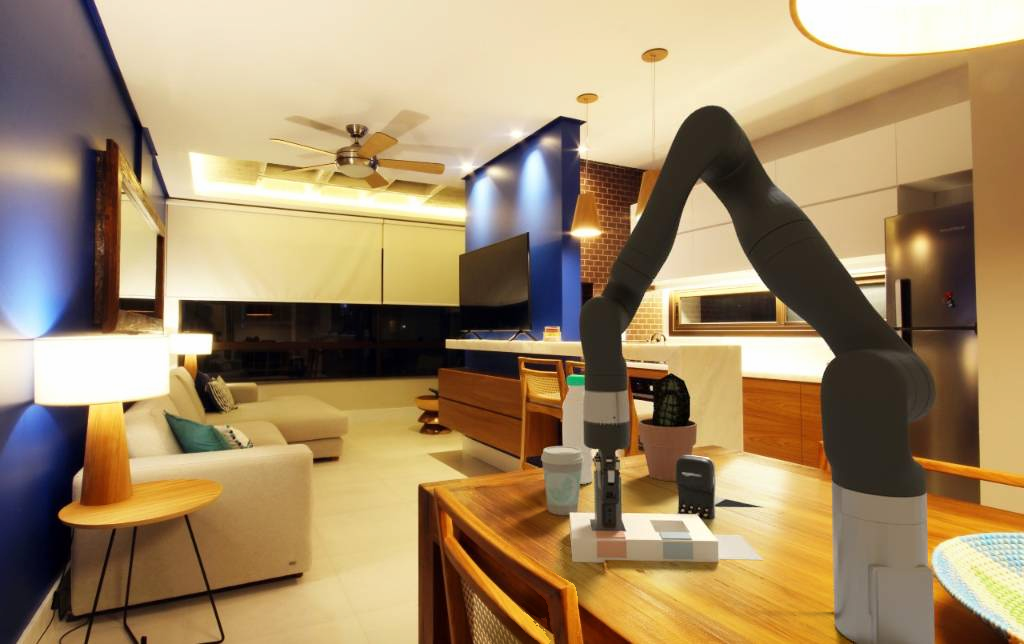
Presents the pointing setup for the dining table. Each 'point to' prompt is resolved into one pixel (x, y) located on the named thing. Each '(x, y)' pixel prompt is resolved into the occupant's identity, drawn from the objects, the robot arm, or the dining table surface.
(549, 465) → the coffee cup
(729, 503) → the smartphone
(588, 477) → the water bottle
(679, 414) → the potted plant
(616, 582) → the dining table surface
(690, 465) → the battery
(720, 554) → the mat
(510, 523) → the dining table surface
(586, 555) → the dock
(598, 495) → the plug
